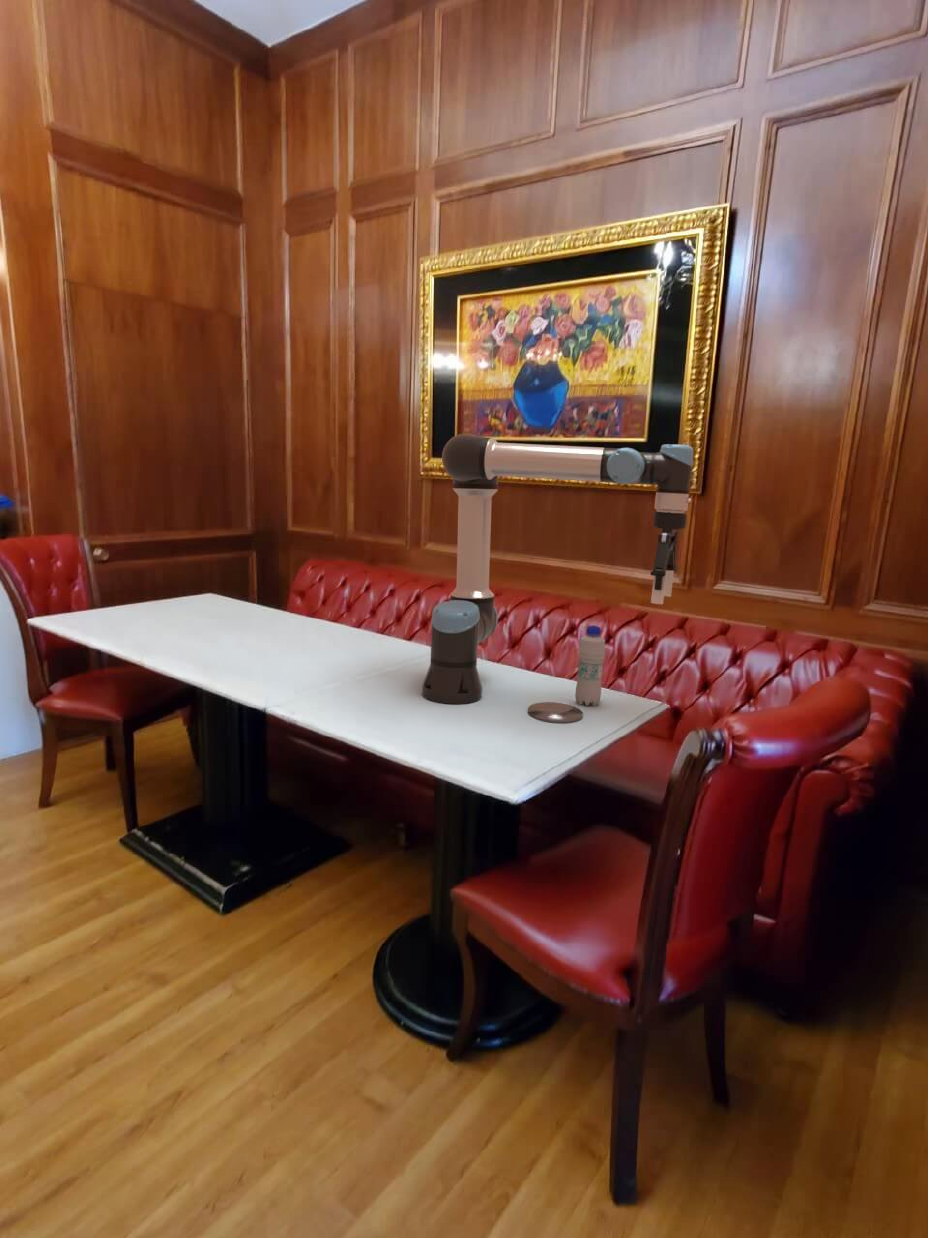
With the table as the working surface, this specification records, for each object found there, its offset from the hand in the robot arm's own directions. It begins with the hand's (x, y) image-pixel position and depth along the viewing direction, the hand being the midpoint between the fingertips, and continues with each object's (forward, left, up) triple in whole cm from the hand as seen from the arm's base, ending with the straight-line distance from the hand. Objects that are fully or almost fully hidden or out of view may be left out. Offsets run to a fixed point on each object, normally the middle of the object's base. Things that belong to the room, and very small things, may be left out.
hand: (661, 599), depth 170 cm
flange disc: (-21, -16, -27) cm, 38 cm away
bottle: (-15, -4, -28) cm, 32 cm away
